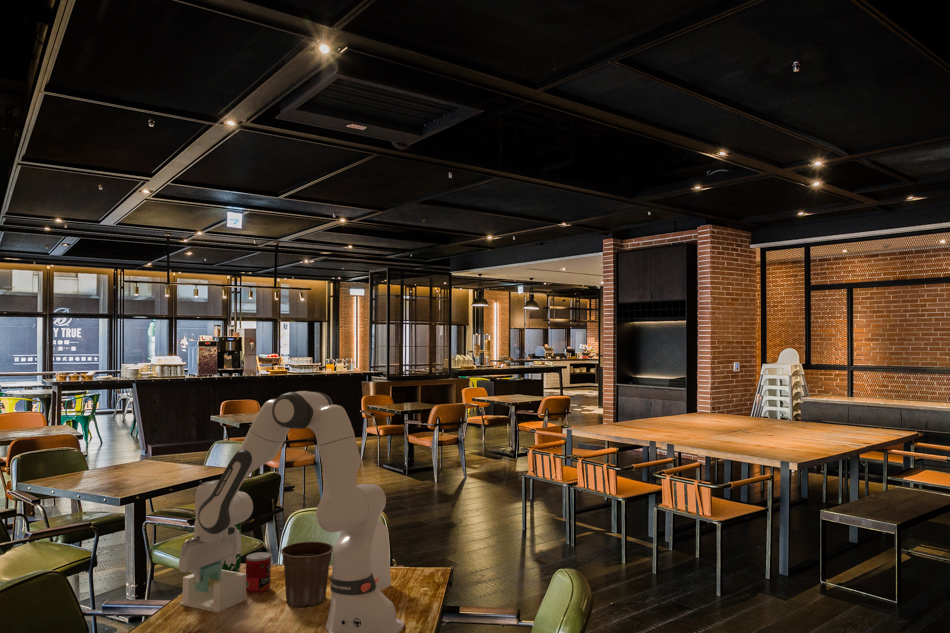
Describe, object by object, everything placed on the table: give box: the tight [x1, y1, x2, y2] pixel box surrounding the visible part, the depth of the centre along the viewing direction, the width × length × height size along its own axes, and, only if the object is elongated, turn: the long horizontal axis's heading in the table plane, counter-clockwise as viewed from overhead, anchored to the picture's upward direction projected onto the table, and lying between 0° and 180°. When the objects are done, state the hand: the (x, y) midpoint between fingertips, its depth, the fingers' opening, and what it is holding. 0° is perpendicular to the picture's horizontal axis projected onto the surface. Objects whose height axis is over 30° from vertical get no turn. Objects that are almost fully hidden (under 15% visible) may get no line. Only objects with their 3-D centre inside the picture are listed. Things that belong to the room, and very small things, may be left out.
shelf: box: [179, 569, 247, 614], centre depth 201 cm, size 16×11×8 cm
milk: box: [371, 518, 392, 592], centre depth 214 cm, size 12×12×26 cm
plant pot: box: [280, 541, 334, 608], centre depth 202 cm, size 16×16×16 cm
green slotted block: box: [196, 562, 221, 592], centre depth 199 cm, size 4×6×7 cm, turn 156°
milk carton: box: [216, 523, 242, 573], centre depth 219 cm, size 9×9×20 cm
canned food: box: [245, 551, 272, 594], centre depth 212 cm, size 8×8×11 cm
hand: (208, 577), depth 199 cm, fingers closed on green slotted block, 6 cm apart
